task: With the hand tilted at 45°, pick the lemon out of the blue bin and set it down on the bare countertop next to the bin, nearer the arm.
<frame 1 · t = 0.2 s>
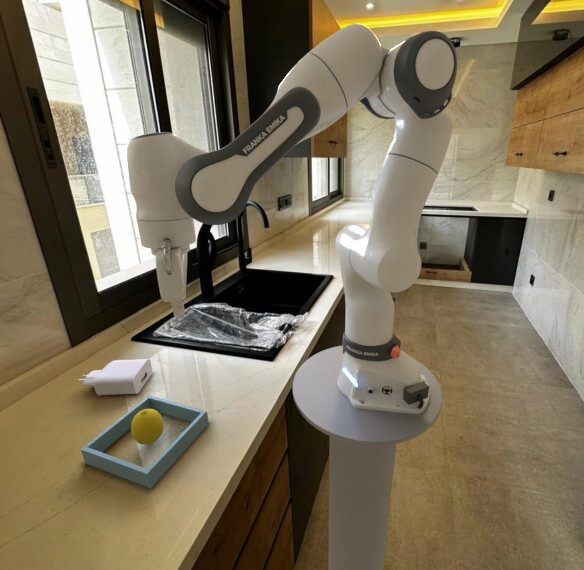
hand: (180, 304, 63), 27 cm above the worktop, tool pointing down, fingers open, 8 cm apart
charger: (114, 385, 82), on the worktop
blue bin: (151, 442, 65), on the worktop
lemon: (151, 443, 66), resting in blue bin
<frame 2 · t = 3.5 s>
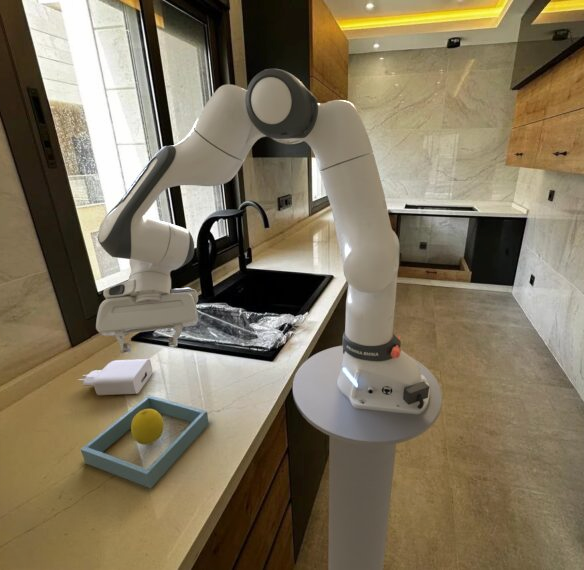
hand: (149, 349, 71), 14 cm above the worktop, tool tilted 45°, fingers open, 8 cm apart
nothing on the worktop moved.
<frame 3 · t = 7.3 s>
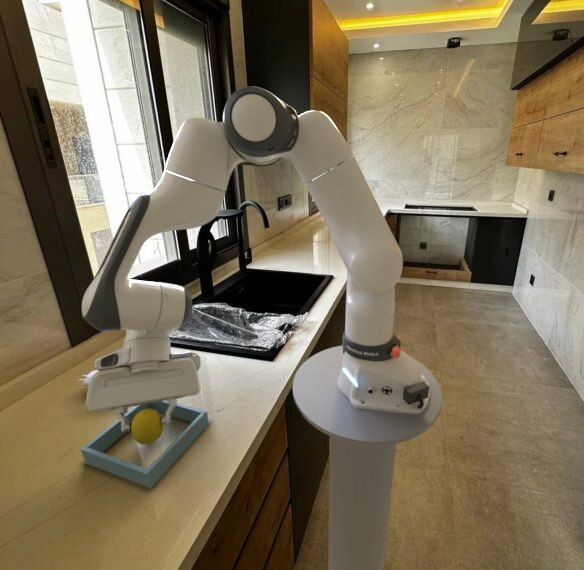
hand: (146, 427, 63), 4 cm above the worktop, tool tilted 45°, fingers closed on lemon, 5 cm apart
lemon: (151, 442, 66), resting in blue bin, touching gripper
everything else where it was.
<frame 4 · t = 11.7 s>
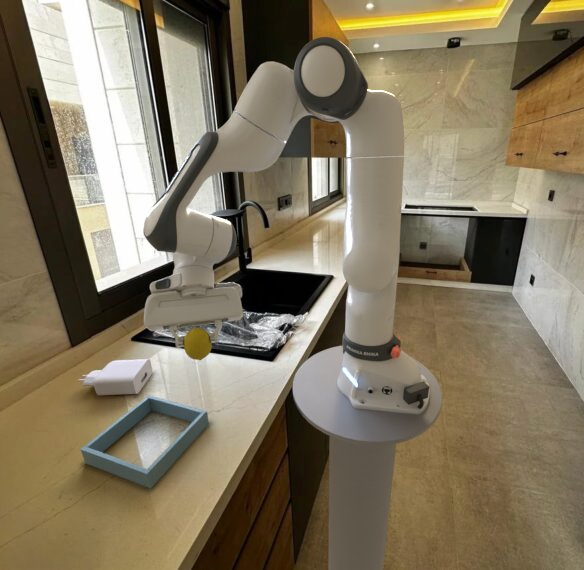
hand: (197, 344, 70), 16 cm above the worktop, tool tilted 45°, fingers closed on lemon, 5 cm apart
lemon: (200, 360, 72), point 12 cm above the worktop, touching gripper
everything else where it was.
when the fingers open (4 cm above the worktop, at t = 16.0 s): lemon stays where it is, on the worktop.
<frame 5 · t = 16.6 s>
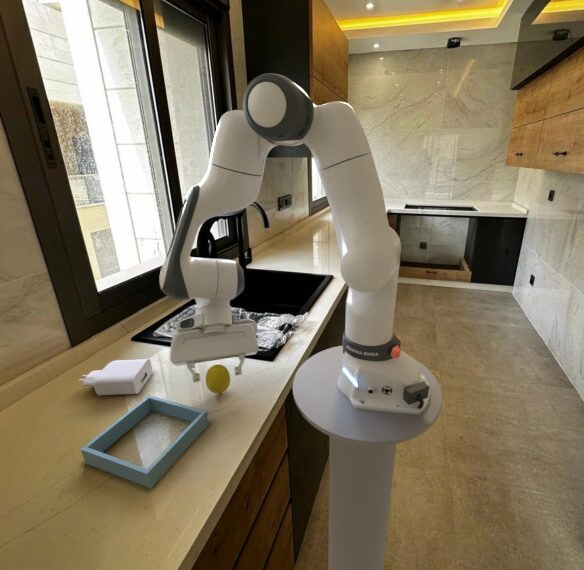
hand: (218, 378, 77), 5 cm above the worktop, tool tilted 45°, fingers open, 8 cm apart
lemon: (220, 393, 79), on the worktop
everything else where it was.
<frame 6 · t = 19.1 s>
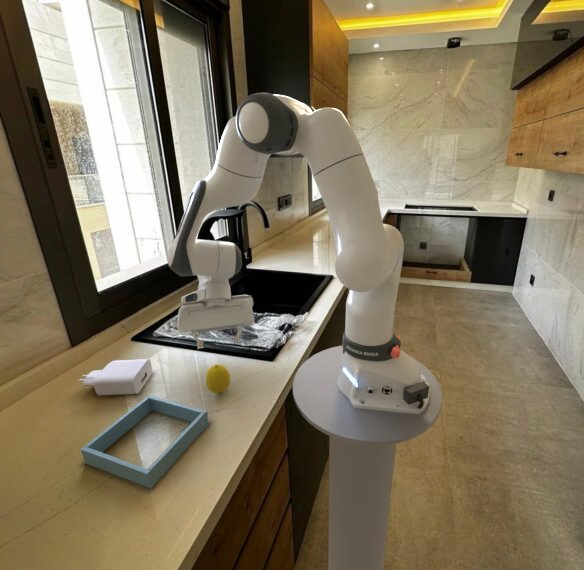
hand: (219, 345, 88), 6 cm above the worktop, tool tilted 45°, fingers open, 8 cm apart
nothing on the worktop moved.
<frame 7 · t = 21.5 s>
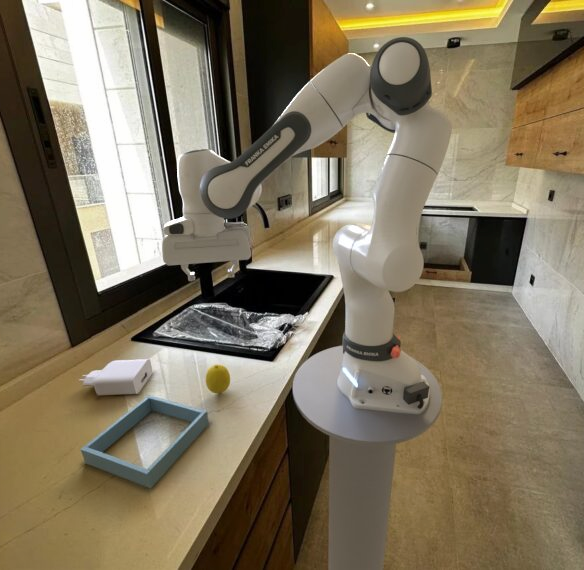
hand: (212, 278, 82), 25 cm above the worktop, tool pointing down, fingers open, 8 cm apart
nothing on the worktop moved.
at the end: lemon inside the target area (0.6 cm from its centre), on the worktop; lemon touching worktop; the gripper is holding nothing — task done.
